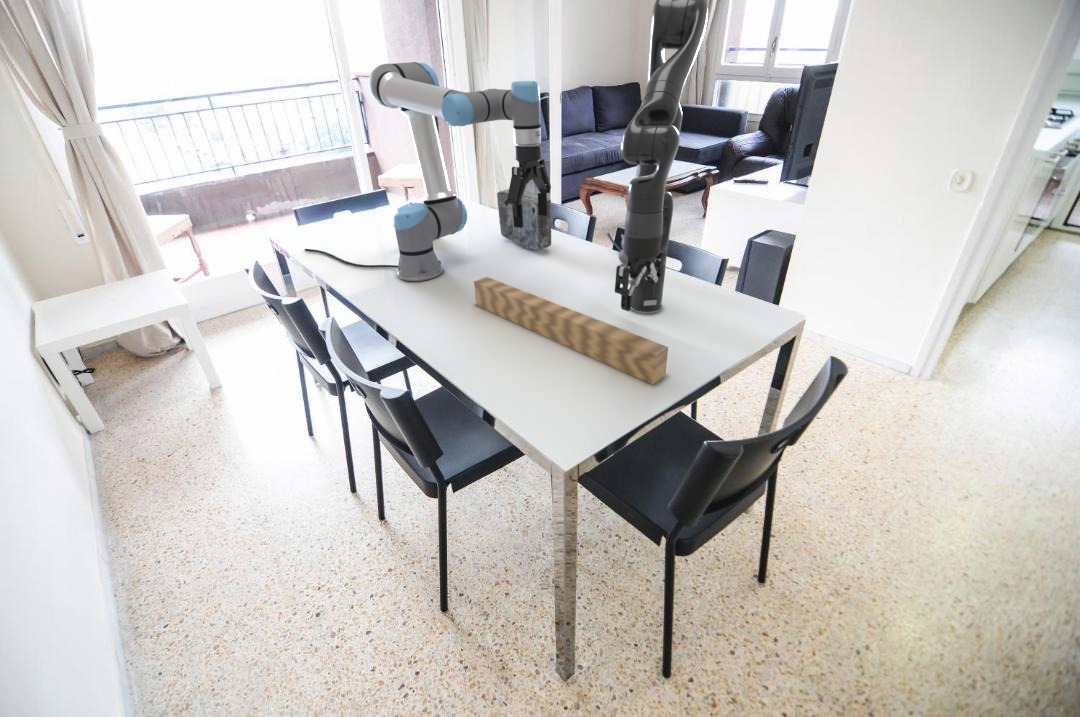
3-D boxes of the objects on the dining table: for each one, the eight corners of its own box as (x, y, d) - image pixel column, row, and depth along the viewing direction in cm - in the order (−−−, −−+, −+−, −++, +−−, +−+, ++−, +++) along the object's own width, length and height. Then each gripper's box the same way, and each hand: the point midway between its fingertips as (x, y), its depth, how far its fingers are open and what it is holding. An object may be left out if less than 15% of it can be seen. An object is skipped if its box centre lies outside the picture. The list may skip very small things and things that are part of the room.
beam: (476, 305, 152) (473, 281, 148) (488, 300, 155) (486, 276, 151) (653, 385, 113) (656, 355, 109) (665, 376, 116) (668, 347, 112)
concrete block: (556, 252, 190) (555, 199, 179) (537, 257, 186) (535, 203, 175) (517, 236, 209) (515, 187, 198) (500, 240, 204) (496, 190, 194)
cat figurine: (646, 268, 173) (649, 234, 166) (634, 275, 168) (636, 240, 161) (626, 263, 178) (628, 230, 171) (613, 269, 173) (614, 236, 167)
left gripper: (513, 152, 127) (518, 234, 138) (561, 138, 145) (562, 211, 156) (490, 151, 130) (496, 230, 142) (539, 137, 148) (542, 209, 159)
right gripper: (637, 244, 95) (632, 319, 103) (678, 226, 103) (670, 297, 112) (606, 236, 100) (604, 309, 108) (648, 220, 108) (642, 289, 116)
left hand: (531, 221), depth 149 cm, fingers open, 13 cm apart
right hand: (637, 303), depth 110 cm, fingers open, 8 cm apart
